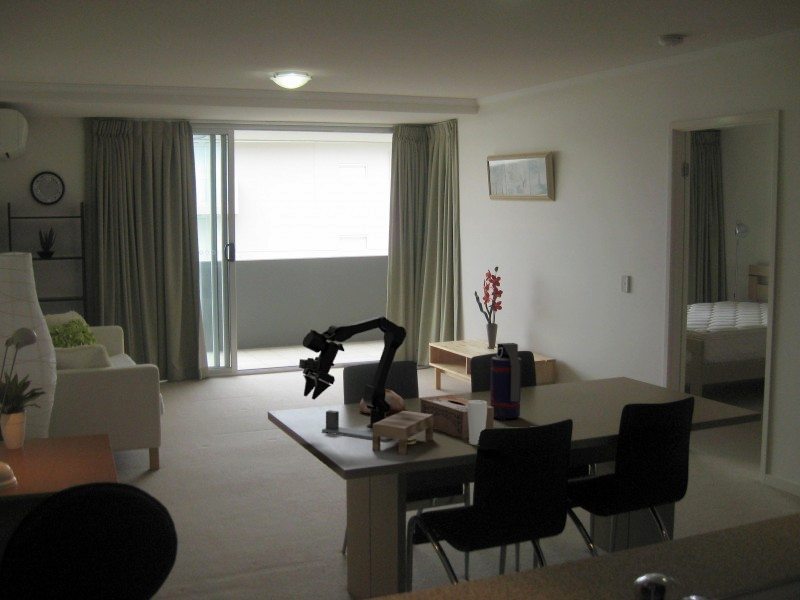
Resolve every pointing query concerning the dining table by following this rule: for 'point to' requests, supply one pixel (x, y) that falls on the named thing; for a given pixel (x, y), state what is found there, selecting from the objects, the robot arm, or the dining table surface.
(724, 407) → the dining table surface
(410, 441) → the brass token
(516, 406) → the grenade
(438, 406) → the tissue box cover
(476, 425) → the drinking glass
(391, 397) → the bread
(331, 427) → the blade tool
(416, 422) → the wooden footstool
